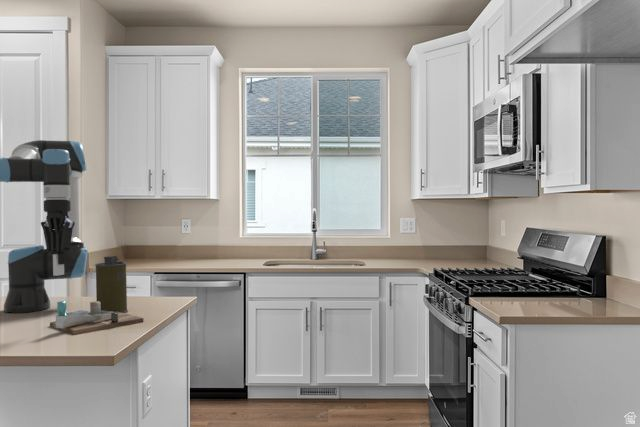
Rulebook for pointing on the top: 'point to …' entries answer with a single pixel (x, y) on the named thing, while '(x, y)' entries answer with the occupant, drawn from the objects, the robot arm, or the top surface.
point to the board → (95, 310)
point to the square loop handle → (77, 316)
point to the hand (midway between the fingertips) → (58, 274)
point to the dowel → (114, 317)
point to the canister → (111, 285)
